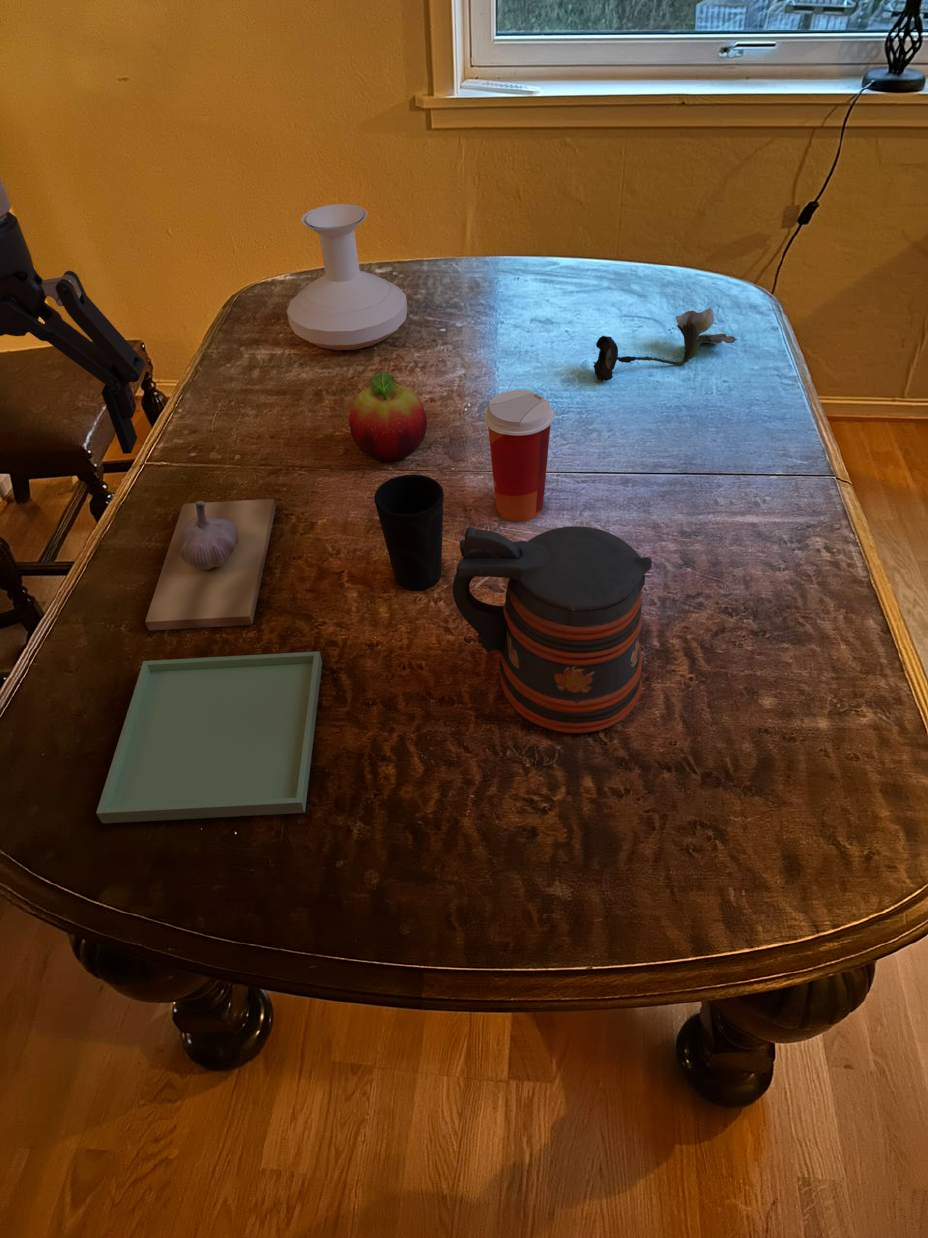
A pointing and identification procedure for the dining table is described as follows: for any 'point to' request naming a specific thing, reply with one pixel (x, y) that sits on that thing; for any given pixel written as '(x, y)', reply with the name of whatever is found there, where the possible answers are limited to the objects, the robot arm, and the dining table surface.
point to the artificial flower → (689, 327)
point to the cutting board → (214, 572)
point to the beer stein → (560, 622)
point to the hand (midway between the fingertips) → (59, 449)
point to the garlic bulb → (207, 540)
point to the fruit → (387, 420)
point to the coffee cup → (519, 452)
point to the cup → (412, 528)
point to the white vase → (344, 289)
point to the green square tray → (215, 739)
